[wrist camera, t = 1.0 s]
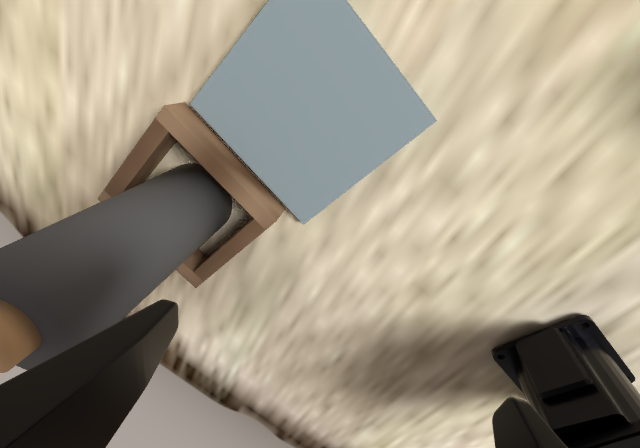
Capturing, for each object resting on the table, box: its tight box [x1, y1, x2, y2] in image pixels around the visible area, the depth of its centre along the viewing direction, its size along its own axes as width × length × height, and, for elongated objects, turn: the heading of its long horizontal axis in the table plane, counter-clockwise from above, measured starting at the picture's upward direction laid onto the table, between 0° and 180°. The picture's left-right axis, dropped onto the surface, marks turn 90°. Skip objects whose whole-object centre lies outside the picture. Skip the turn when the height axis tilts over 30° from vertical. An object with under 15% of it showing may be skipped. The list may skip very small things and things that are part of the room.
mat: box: [190, 0, 437, 225], centre depth 18 cm, size 10×10×1 cm
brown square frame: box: [98, 102, 285, 288], centre depth 21 cm, size 9×9×2 cm
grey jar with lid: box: [0, 164, 232, 373], centre depth 16 cm, size 5×5×14 cm
